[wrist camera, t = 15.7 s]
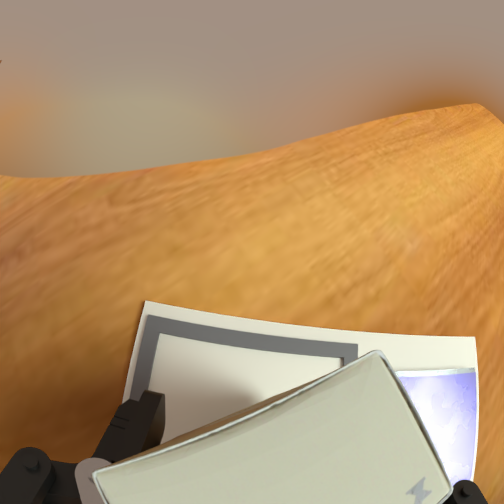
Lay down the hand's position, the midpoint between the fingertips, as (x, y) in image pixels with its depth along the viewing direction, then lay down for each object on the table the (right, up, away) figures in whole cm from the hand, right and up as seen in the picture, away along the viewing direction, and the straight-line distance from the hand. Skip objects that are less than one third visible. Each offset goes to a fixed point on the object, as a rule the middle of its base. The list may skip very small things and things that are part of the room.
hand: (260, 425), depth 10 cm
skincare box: (-1, -4, +4) cm, 6 cm away
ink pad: (+12, -7, +6) cm, 15 cm away
